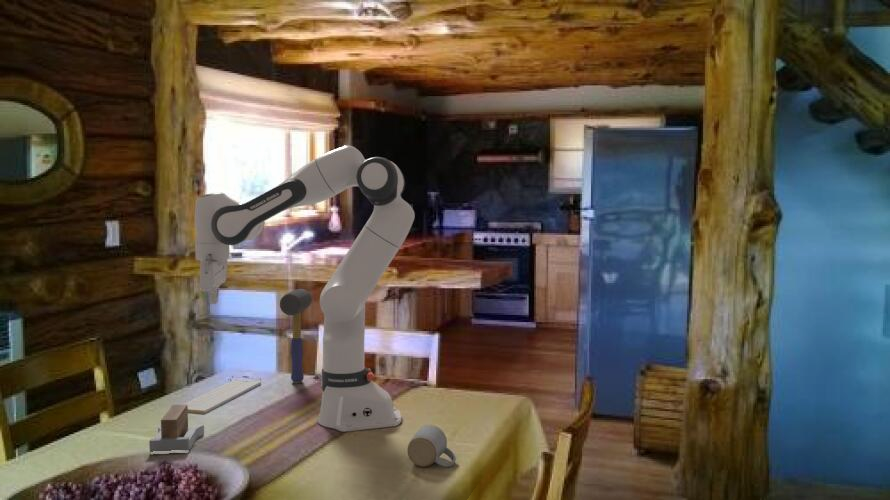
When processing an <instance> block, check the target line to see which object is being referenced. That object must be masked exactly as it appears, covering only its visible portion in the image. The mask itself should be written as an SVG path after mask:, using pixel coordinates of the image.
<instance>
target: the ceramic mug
mask: <svg viewBox="0 0 890 500" xmlns="http://www.w3.org/2000/svg"><path fill="white" fill-rule="evenodd" d="M406 451H407V456H408V459H409V460H410V461H411V462H412V464H413V465H416V466H418V467H420V468H427V467H429V466H432V465H433V464H435V463H436V464H438V465H439V466H442V467H446V468H450V467H453V466H454V464H455V462H456V461H457V456H456V454H455V453H454V452H453V451H452V449H450V448H448V440H447V435H446V434H445V432H444V431H443V430H442V429H441V428H440V427H439V426H436V425H433V424H425V425H423V426H420V428H419V429H418V430H417V431H416V432H415V433H414V435H413V437H412V438H411V439H410V441H409V442H408V445H407V449H406ZM443 454H445V455H446V456H447V457H448V458H449V459H450V461H449V460H446V459H443V458H441V456H442V455H443Z"/></svg>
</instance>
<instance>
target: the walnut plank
mask: <svg viewBox="0 0 890 500" xmlns="http://www.w3.org/2000/svg"><path fill="white" fill-rule="evenodd" d="M184 404H185V403H184ZM188 413H189V412H188V405H187V404H185V405H183V404H172V405H171V407H170V408H169V409H168V410H167V412H165V414H164V416H162V418H161V419H160V426H161V438H176V437H184V436H185V434H186V433H187V431H188V430H189V414H188Z"/></svg>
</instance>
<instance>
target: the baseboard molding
mask: <svg viewBox="0 0 890 500" xmlns="http://www.w3.org/2000/svg"><path fill="white" fill-rule="evenodd" d="M233 378H234V376H231V378H228V382H227V383H225V384H222V385H220V386H218V387H216V388H214V389H211V390H210V391H208V392H206V393H203V394H202V395H199V396H197V397H195V398H193V399H191V400H190V401H187V402H185V403H183V404H182V405H185V404H187V405H188V413H191V414H201V415H205V414H207V413H209V412H211V411H213V410H215V409H217V408H218V407H220V406H222V405H224V404H227V403H229V402H230V401H232V400H235V399H236V398H237V397H240V396H241V395H244V394H245V393H247V392H249V391H251V390H253V389H255V388H257V387H259V386H261V384H262V381H261V380H262V379H261V378H259V381H257V380H243V379H240V378H241V377H239V376H238V377H237V378H239V379H234V380H232V379H233ZM242 378H246V379H253V378H252V377H251V378H249V376H248V375H245V376H244V375H242Z"/></svg>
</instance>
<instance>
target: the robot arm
mask: <svg viewBox="0 0 890 500" xmlns="http://www.w3.org/2000/svg"><path fill="white" fill-rule="evenodd" d="M352 187H359V190H360V191H361V193H362V194H363V195H364V196H365V197H366V198H367V200H368V201H369V202H370V204H371V205H373V211H372V213H371V215H370V217H369V218H368V220H367V221H366V223H365V224H364V225H363V228H362V229H361V231H360V232H359V234H358V235H357V237H356V238H355V240H354V241H353V243H352V244H351V246H350V248H349V249H348V250H347V252H346V254H345V255H344V257H343V258H342V260H341V261H340V263H339V264H338V265H337V267H336V269H335V271H334V272H333V274H332V275H331V277H330V278H329V280H327V283H326V284H325V286H324V288H323V289H322V291H321V292H320V296H319V307H320V310H321V312H322V314H323V315H324V316H323V317H324V319H323V335H322V369H321V374H320V386H321V391H322V395H321V402H320V403H321V404H320V410H319V413H318V414H319V415H318V418H317V424H319V425H321V426H323V427H326V428H330V429H335V430H337V431H339V432H343V433H344V432H353V431H354V432H355V431H361V430H363V431H364V430H372V429H380V428H389V427H390V428H391V427H397V426H399V425H400V424H401V423H402V413H401V412H400V410H399V409H397V408H395V407H394V403H393V400H392V397H391V395H390V394H389V392H388V391H386V390H385V389H384V388H382V387H381V386H379V385H378V384H376V382H374V380H375V374H374V373H373V370H371V368H370V367H369V368H368V367H366V366H365V332H366V331H365V330H366V329H365V328H366V302H367V301H368V299H369V298H370V296H371V295H372V293H373V291H374V289H375V288H376V286H377V285H378V283H379V281H380V280H381V278H382V276H383V275H384V273H385V272H386V270H387V269H388V267H389V266H390V264H391V263H392V261H393V260H394V258H395V256H396V255H397V253H398V251H400V249H401V247H402V246H403V244H404V242H405V240H406V239H407V236H408V234H409V232H410V230H411V228H412V227H413V223H414V221H415V217H416V216H415V214H416V213H415V211H414V208H413V207H412V206H411V205H410V204H409V203H408V202H407V201H406V200H404V199H403V198H402V194H403V193H404V191H405V189H406V178H405V175H404V173H403V172H402V170H401V169H400V168H399V167H398V165H397V164H395V163H394V162H393V161H391V160H389V159H388V158H385V157H380V156H374V157H370V158H367V159H365V157H364V155H363V154H362V152H361V151H360V150H359V149H357V148H356V147H355V146H352V145H343V146H340V147H338V148H335V149H333V150H329V151H328V152H326V153H324V154H322V155H319V156H318V157H316V158H313V160H311V161H309V162H307V163H306V164H305V165H303V166H301V168H299V169H298V170H297V171H296V172H294V173H293V174H291V175H290V176H288V177H287V178H286V179H285V180H283V181H282V182H280V183H279V184H278V185H277V186H274V187H273V188H272V189H271V188H270V189H269V190H268V191H266V192H263V193H262V194H260V195H258V196H255V198H252V199H251V200H249V201H246V202H244V203H242V202H239V201H237V200H235V199H233V198H232V197H230V196H228V195H227V194H226V193H224V192H214V193H213V192H212V193H206V194H203V195H200V196H199V197H198V198H197V199H196V200H195V205H194V228H195V233H196V236H195V240H194V246H195V247H194V248H195V260H197V261H200V264H199V290H200V292H207V294H208V298H209V304H210V305H216V304H217V303H218V302H219V293H220V287H221V285H223V284H224V283H225V282H226V280H227V274H228V273H227V272H228V260H229V259H230V246H236V245H239V244H241V243H243V242H247V241H251V240H254V239H256V238H257V237H258V236H260V235H261V234H262V233H263V231H264V228H265V225H266V224H265V221H268V220H269V219H272V218H273V217H275V216H276V215H279V214H280V213H282V212H285V211H287V210H290V209H293V208H298V207H305V206H310V205H315V204H318V203H321V202H324V201H327V200H330V199H331V198H333V197H335V196H337V195H339V194H340V193H342V192H344V191H345V190H348V189H350V188H352Z"/></svg>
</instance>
